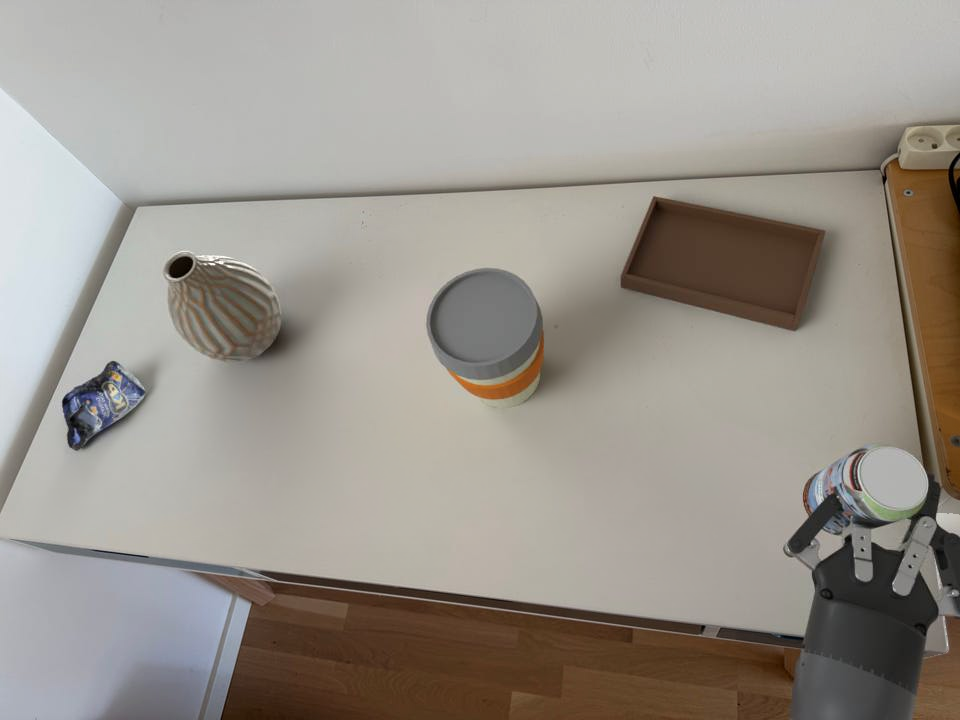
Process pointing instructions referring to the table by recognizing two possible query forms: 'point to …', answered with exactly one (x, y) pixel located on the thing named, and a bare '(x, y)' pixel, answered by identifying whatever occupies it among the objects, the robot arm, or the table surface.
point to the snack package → (100, 403)
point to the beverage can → (870, 487)
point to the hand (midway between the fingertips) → (898, 467)
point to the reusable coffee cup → (489, 335)
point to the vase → (221, 306)
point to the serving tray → (724, 261)
